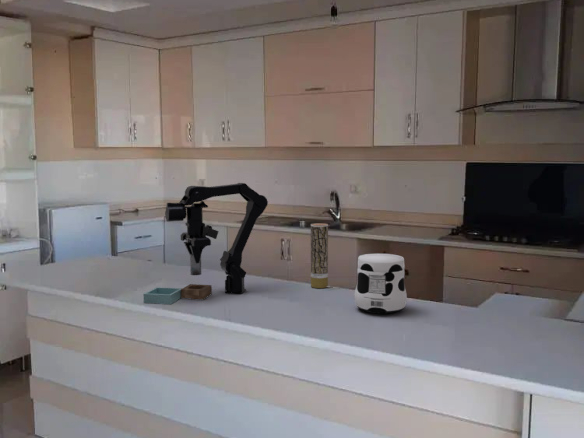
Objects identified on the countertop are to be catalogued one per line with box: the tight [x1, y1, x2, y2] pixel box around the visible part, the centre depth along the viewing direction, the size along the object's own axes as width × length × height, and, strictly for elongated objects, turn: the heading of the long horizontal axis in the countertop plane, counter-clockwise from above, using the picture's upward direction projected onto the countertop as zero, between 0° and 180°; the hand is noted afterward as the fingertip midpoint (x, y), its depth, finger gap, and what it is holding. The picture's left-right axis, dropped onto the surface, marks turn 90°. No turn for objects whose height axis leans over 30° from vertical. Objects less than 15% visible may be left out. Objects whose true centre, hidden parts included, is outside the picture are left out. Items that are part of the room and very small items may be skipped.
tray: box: [143, 286, 182, 305], centre depth 205 cm, size 10×10×3 cm
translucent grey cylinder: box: [189, 254, 202, 276], centre depth 209 cm, size 4×4×8 cm
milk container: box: [354, 253, 408, 314], centre depth 190 cm, size 17×17×18 cm
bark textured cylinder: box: [310, 222, 329, 289], centre depth 224 cm, size 7×7×25 cm
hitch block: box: [181, 283, 213, 300], centre depth 210 cm, size 9×9×4 cm
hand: (195, 262), depth 209 cm, fingers closed on translucent grey cylinder, 4 cm apart
